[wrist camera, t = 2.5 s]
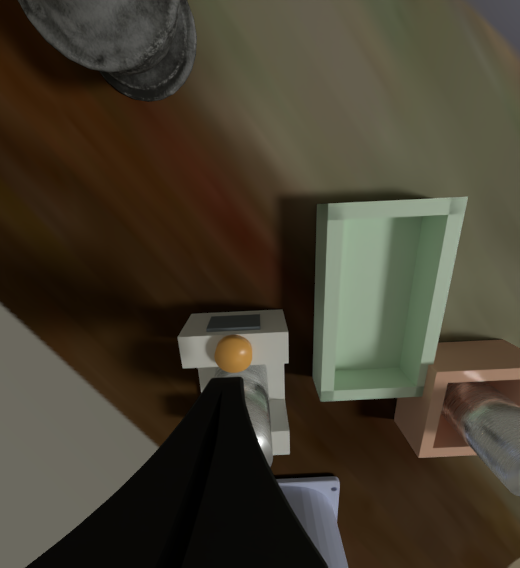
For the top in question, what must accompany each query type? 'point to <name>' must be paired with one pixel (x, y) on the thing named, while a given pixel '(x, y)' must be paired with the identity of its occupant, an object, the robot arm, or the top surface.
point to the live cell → (256, 403)
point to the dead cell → (487, 427)
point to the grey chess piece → (122, 40)
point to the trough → (381, 294)
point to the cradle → (242, 355)
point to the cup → (450, 369)
